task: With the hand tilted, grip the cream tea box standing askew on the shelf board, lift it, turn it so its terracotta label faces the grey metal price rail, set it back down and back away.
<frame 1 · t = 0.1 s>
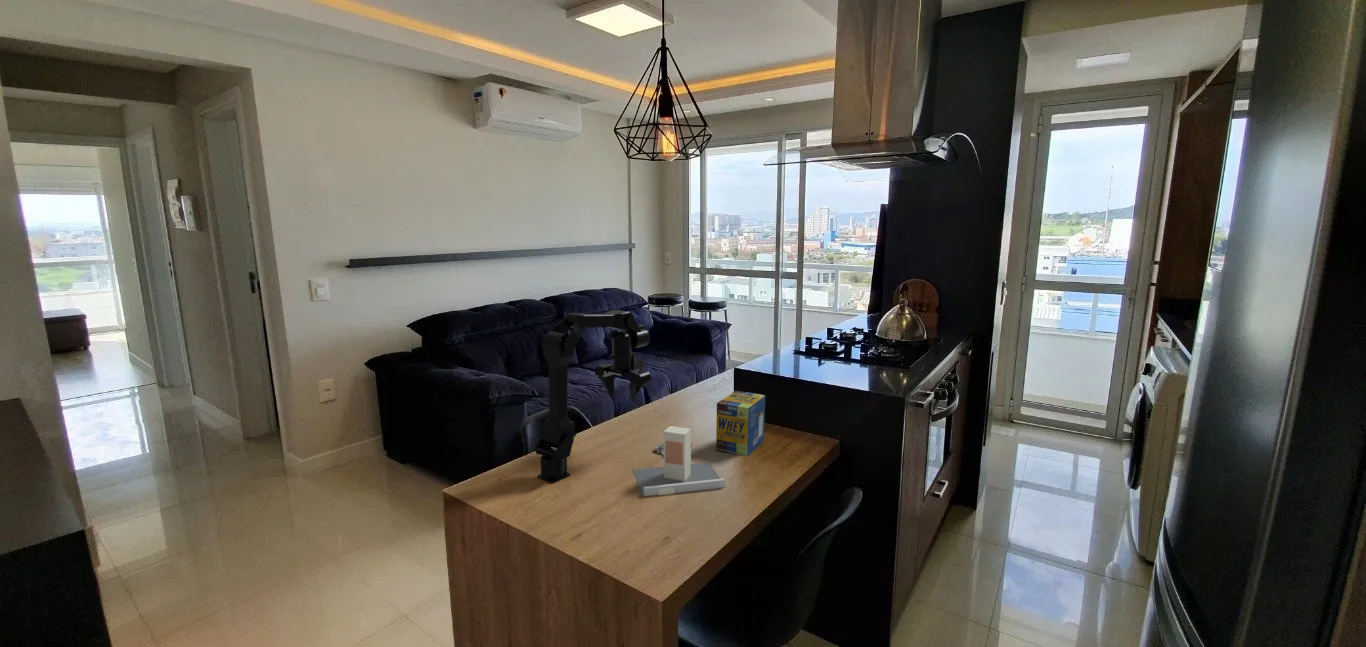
hand: (622, 400, 176), 15 cm above the table, tool pointing down, fingers open, 9 cm apart
tea box: (677, 475, 153), point 1 cm above the table, touching shelf board
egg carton: (673, 455, 171), on the table
protein box: (740, 446, 178), on the table
shelf board: (677, 483, 152), on the table
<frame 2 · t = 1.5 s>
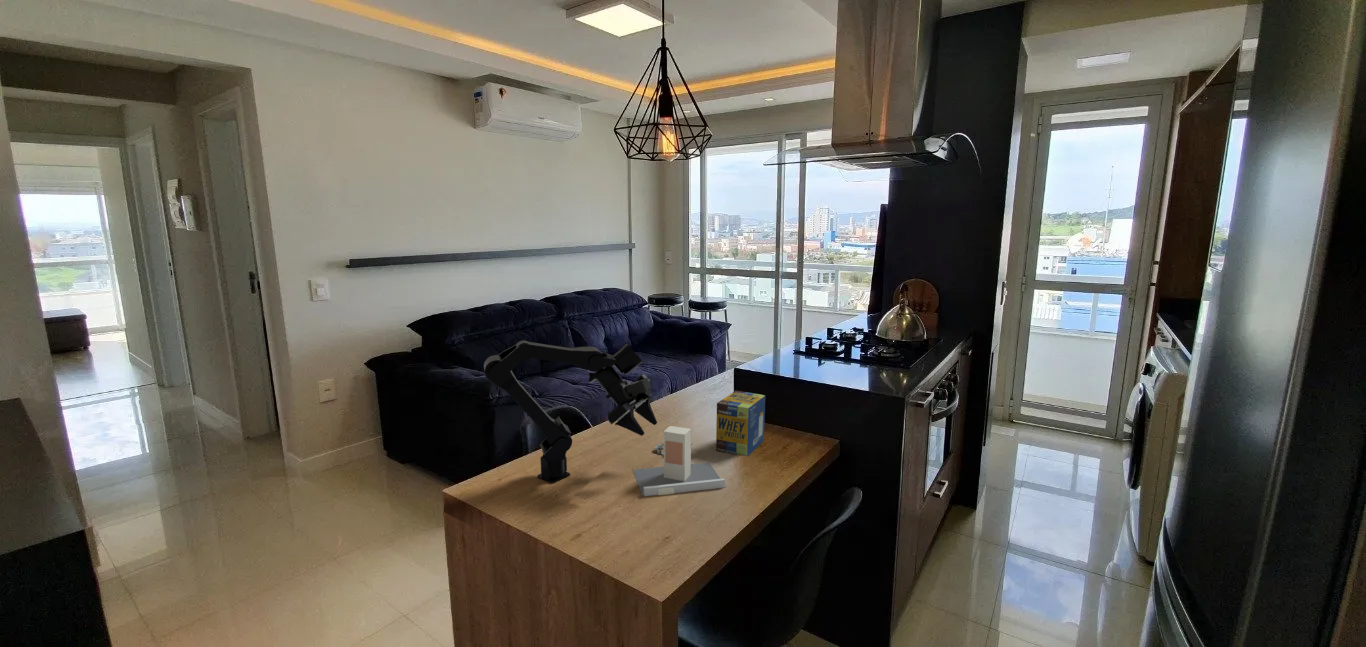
hand: (649, 429, 155), 13 cm above the table, tool tilted 45°, fingers open, 9 cm apart
nothing on the table moved.
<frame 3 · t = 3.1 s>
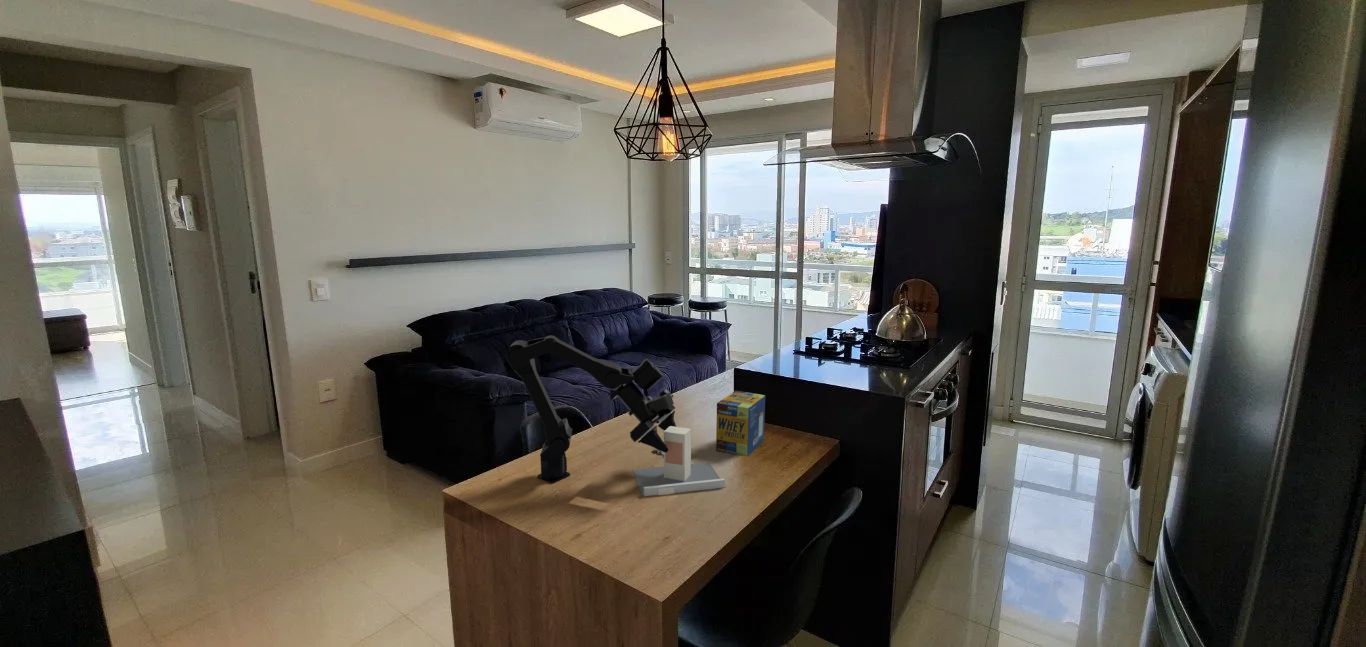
hand: (673, 445, 152), 10 cm above the table, tool tilted 45°, fingers open, 9 cm apart
nothing on the table moved.
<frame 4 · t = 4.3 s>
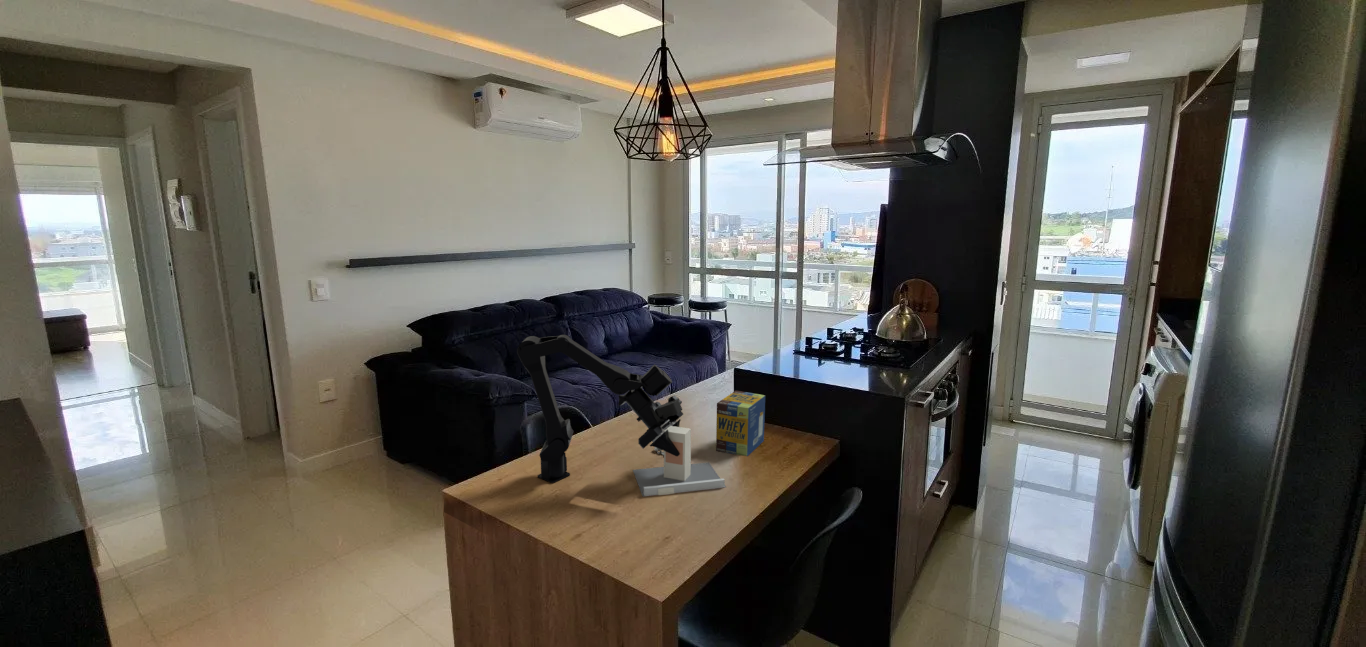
hand: (682, 451, 151), 9 cm above the table, tool tilted 45°, fingers closed on tea box, 5 cm apart
tea box: (677, 475, 153), point 2 cm above the table, touching gripper, shelf board
everything else where it was.
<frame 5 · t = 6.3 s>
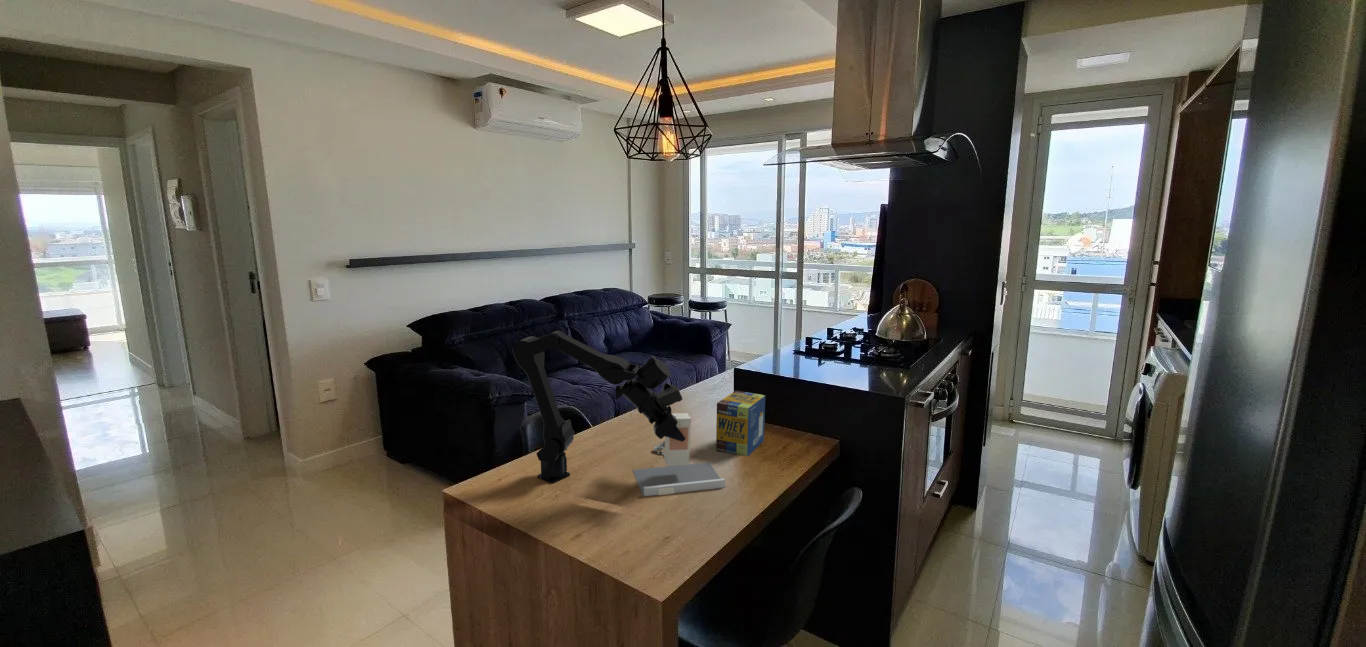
hand: (682, 436, 152), 12 cm above the table, tool tilted 45°, fingers closed on tea box, 5 cm apart
tea box: (676, 462, 153), point 5 cm above the table, touching gripper
everything else where it was.
when the fingers open (9 cm above the table, at t = 8.1 s): tea box stays where it is, resting on shelf board.
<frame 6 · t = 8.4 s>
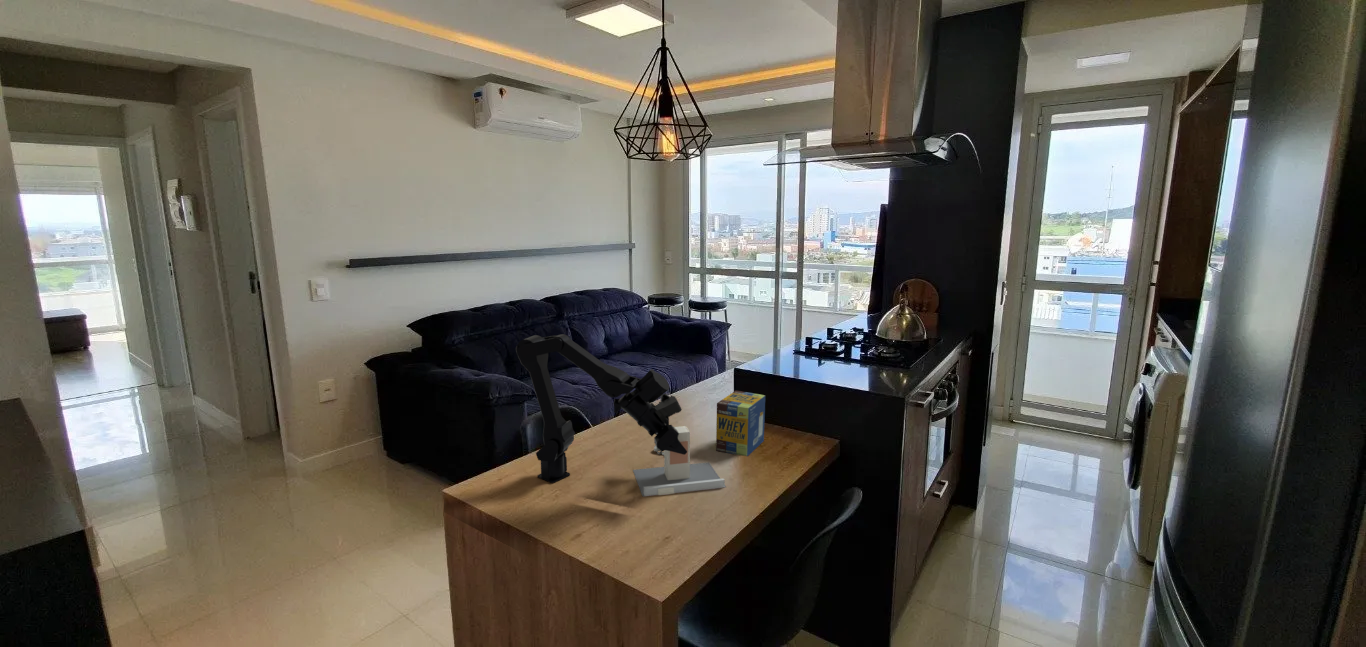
hand: (682, 447, 152), 10 cm above the table, tool tilted 45°, fingers open, 8 cm apart
tea box: (676, 475, 153), point 1 cm above the table, touching shelf board
everything else where it was.
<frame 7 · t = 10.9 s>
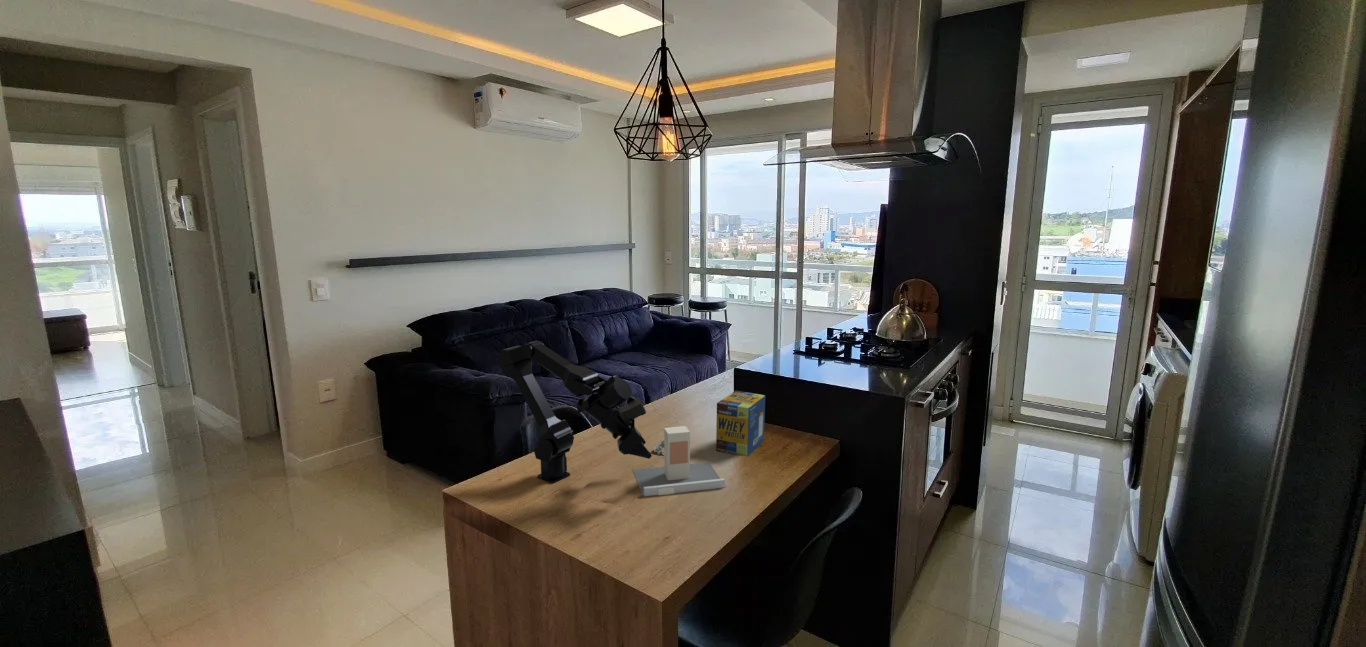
hand: (647, 450, 150), 10 cm above the table, tool tilted 45°, fingers open, 9 cm apart
nothing on the table moved.
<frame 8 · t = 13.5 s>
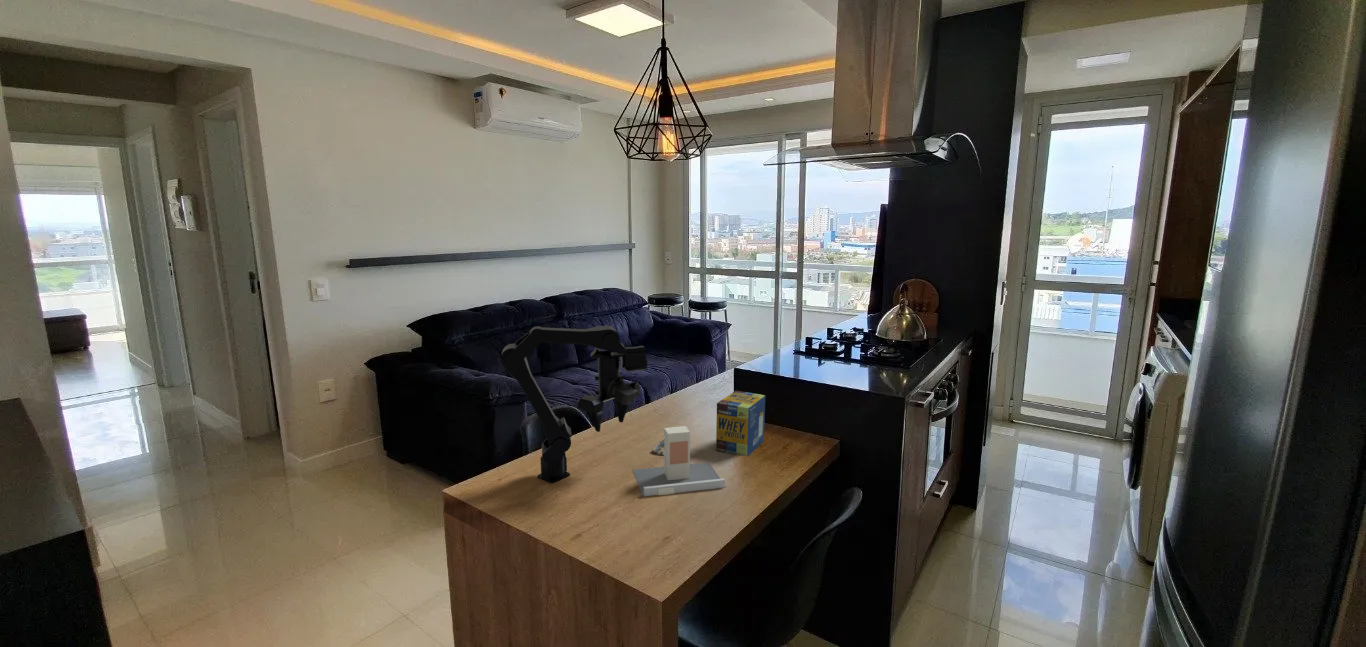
hand: (609, 426, 157), 13 cm above the table, tool pointing down, fingers open, 9 cm apart
at the end: tea box inside the target area (0.2 cm from its centre), point 1.5 cm above the table; tea box tilted 0°; the gripper is holding nothing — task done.
